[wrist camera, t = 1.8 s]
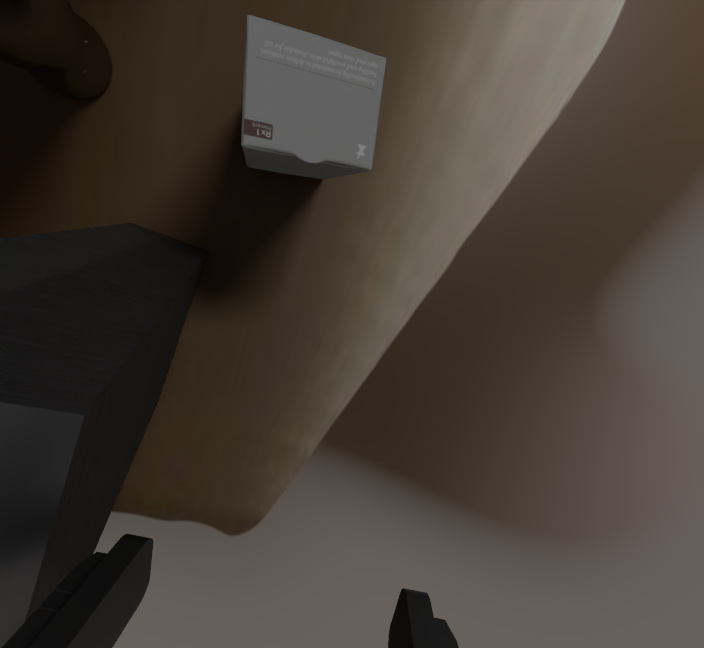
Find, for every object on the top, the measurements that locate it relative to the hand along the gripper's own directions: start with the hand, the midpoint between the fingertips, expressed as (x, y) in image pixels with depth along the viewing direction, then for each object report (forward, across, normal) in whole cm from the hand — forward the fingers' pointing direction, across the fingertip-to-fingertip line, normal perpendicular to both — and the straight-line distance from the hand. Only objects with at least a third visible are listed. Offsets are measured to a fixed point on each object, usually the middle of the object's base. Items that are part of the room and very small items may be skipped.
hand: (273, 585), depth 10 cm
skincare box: (+28, +9, -19) cm, 35 cm away
